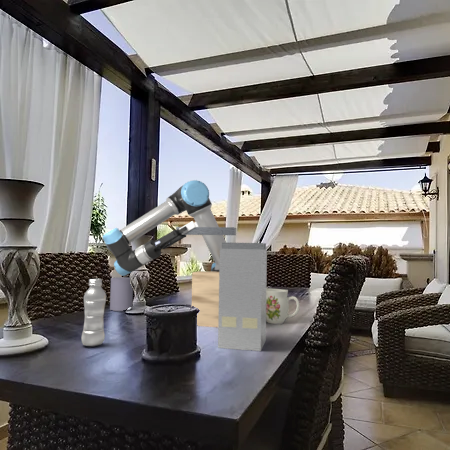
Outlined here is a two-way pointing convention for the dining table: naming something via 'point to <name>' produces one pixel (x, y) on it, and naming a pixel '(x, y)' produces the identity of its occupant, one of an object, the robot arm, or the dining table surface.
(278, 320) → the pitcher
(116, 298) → the container
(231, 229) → the bar
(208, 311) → the oak side stand
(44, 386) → the dining table surface
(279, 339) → the dining table surface
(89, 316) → the plastic bottle
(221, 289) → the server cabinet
